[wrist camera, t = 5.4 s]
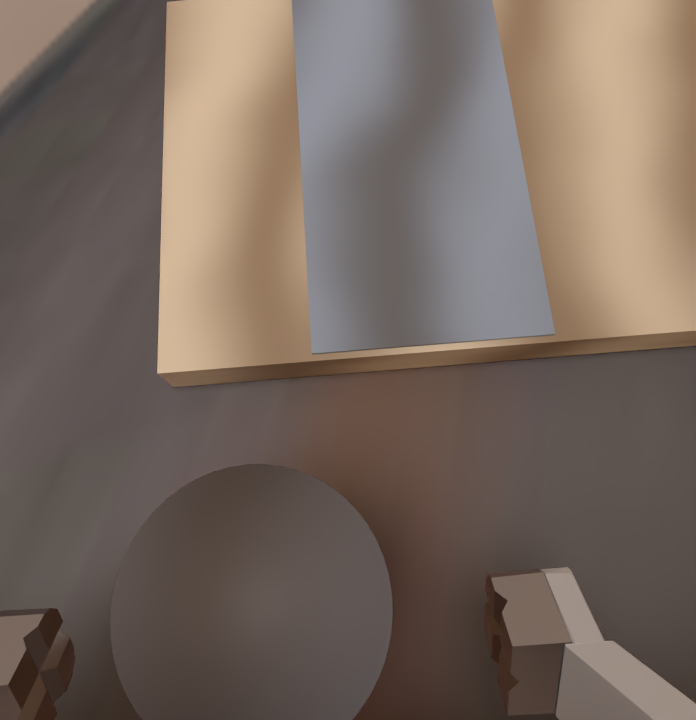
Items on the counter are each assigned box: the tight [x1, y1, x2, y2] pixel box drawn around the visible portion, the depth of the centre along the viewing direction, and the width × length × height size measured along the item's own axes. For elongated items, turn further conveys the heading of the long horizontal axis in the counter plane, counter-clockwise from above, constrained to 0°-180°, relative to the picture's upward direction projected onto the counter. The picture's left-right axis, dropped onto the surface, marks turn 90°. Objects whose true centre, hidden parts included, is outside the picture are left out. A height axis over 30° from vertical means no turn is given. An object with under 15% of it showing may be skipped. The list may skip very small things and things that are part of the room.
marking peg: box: [110, 464, 393, 720], centre depth 13 cm, size 4×4×9 cm
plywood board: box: [157, 0, 696, 387], centre depth 20 cm, size 24×14×2 cm, turn 94°
